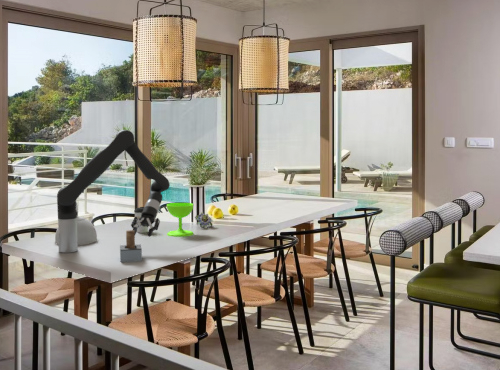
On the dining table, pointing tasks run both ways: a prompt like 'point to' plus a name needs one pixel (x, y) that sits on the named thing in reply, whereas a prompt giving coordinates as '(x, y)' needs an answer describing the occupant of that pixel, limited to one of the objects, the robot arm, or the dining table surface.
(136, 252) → the collar
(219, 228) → the dining table surface
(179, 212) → the wineglass
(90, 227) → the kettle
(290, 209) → the dining table surface
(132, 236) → the walnut peg
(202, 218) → the passion flower
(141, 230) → the coffee cup
